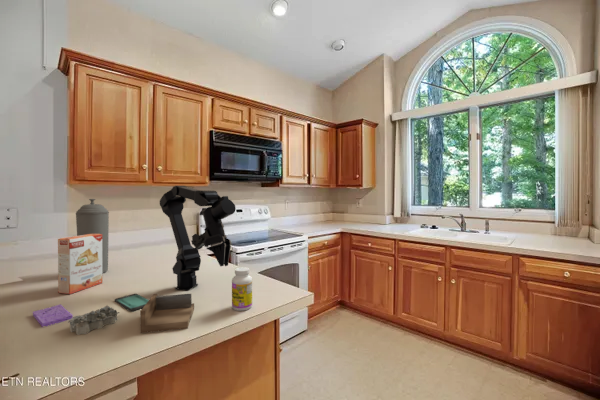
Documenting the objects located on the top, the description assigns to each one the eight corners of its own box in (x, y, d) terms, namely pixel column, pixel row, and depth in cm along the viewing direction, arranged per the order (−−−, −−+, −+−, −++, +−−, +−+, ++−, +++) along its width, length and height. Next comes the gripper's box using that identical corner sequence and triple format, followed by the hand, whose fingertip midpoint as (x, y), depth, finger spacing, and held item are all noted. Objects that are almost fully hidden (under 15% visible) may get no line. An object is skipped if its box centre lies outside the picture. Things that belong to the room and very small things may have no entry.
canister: (115, 271, 135) (113, 198, 134) (83, 278, 124) (82, 199, 123) (102, 267, 141) (101, 198, 140) (72, 274, 131) (70, 198, 130)
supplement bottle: (227, 309, 92) (227, 270, 91) (240, 302, 98) (240, 265, 97) (243, 313, 89) (243, 272, 88) (256, 305, 95) (256, 267, 94)
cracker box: (70, 295, 104) (69, 239, 104) (57, 293, 106) (56, 238, 105) (104, 283, 118) (103, 233, 117) (92, 282, 119) (91, 233, 119)
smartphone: (135, 292, 104) (154, 302, 95) (135, 296, 104) (154, 305, 95) (113, 298, 99) (130, 309, 89) (113, 302, 99) (131, 313, 89)
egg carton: (78, 338, 74) (77, 323, 74) (66, 330, 78) (65, 316, 78) (121, 321, 83) (120, 308, 83) (108, 315, 87) (108, 302, 87)
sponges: (61, 309, 93) (61, 303, 93) (73, 320, 85) (73, 314, 85) (32, 317, 87) (32, 311, 87) (42, 329, 80) (42, 322, 79)
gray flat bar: (157, 308, 87) (157, 296, 87) (191, 305, 89) (191, 293, 89) (156, 310, 86) (156, 297, 86) (191, 307, 88) (190, 294, 88)
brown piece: (154, 313, 89) (153, 294, 89) (194, 309, 92) (193, 291, 91) (140, 333, 76) (140, 311, 76) (187, 328, 79) (187, 307, 79)
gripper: (197, 232, 109) (207, 272, 106) (182, 226, 91) (193, 274, 88) (226, 224, 110) (236, 263, 108) (217, 216, 92) (229, 263, 89)
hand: (224, 266), depth 98 cm, fingers open, 9 cm apart
